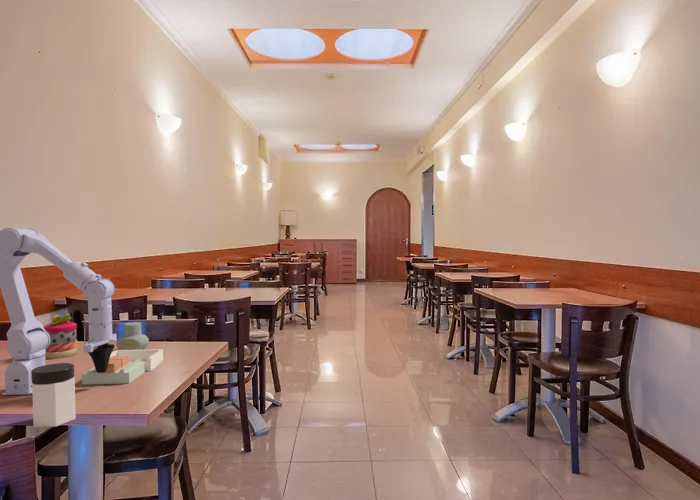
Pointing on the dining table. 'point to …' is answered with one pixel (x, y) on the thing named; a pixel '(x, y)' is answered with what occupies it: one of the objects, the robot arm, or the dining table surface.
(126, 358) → the tile
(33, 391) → the jar
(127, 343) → the air freshener
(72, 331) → the cake
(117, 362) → the tile
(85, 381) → the two-ridged green plate
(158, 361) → the box
